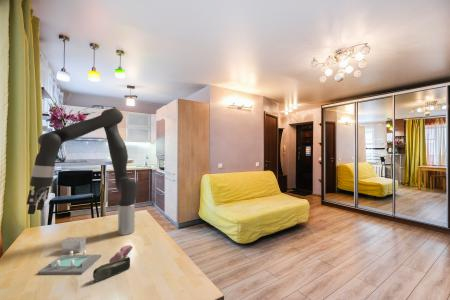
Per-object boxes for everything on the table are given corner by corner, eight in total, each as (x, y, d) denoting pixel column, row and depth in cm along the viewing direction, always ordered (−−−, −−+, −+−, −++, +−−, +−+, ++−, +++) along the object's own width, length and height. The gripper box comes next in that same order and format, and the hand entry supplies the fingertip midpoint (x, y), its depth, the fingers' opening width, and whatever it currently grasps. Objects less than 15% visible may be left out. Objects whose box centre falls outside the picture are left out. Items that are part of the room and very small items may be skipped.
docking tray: (62, 256, 95) (62, 248, 95) (101, 256, 95) (101, 248, 95) (37, 274, 82) (37, 264, 82) (82, 273, 82) (82, 264, 82)
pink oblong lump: (115, 268, 89) (121, 255, 88) (107, 262, 90) (113, 249, 89) (130, 256, 98) (135, 244, 98) (122, 251, 99) (128, 239, 98)
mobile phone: (128, 255, 88) (88, 269, 77) (131, 257, 86) (90, 272, 75) (128, 266, 88) (88, 282, 77) (131, 269, 86) (90, 285, 75)
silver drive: (68, 248, 103) (68, 237, 103) (85, 248, 103) (85, 237, 103) (61, 252, 99) (61, 240, 99) (80, 252, 99) (80, 240, 99)
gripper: (46, 177, 87) (39, 215, 85) (58, 175, 100) (52, 208, 98) (24, 176, 84) (15, 215, 82) (39, 174, 97) (32, 208, 95)
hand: (35, 211), depth 90 cm, fingers open, 8 cm apart
